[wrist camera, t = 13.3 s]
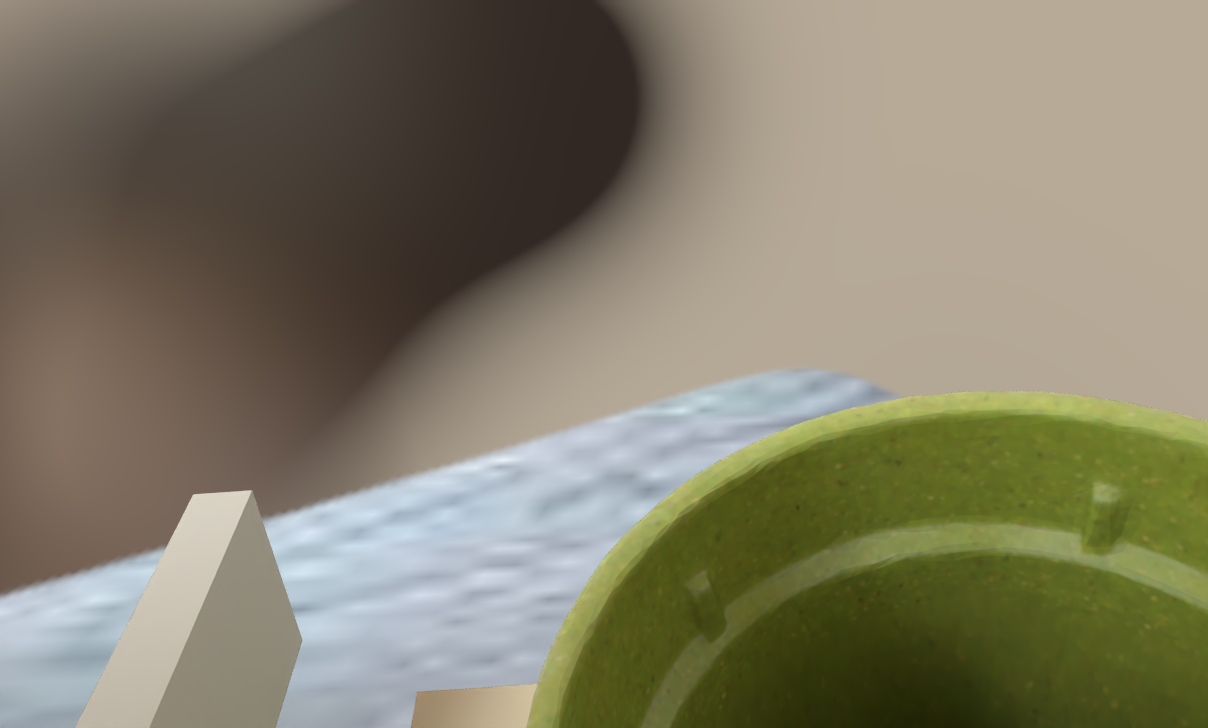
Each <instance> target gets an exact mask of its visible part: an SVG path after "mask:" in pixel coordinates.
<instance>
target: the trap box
mask: <svg viewBox="0 0 1208 728" xmlns="http://www.w3.org/2000/svg"><path fill="white" fill-rule="evenodd" d="M536 687H537V684H528V685H514V686H499V687H484V688H469V689H454V690H439V691H424V692H417V697H416V703H415V709H414V715H413V720H412V726H411V728H526V726H527V722H528V718H529V714H530V710H531V705H532V700H533V696H534V693H535V690H536Z"/></svg>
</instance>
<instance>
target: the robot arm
mask: <svg viewBox="0 0 1208 728" xmlns="http://www.w3.org/2000/svg"><path fill="white" fill-rule="evenodd" d="M301 643H302V638H301V635H300V632H299V629H298V626H297V623H296V620H295V617H294V614H293V611H292V608H291V605H290V602H289V599H288V596H287V593H286V590H285V587H284V584H283V581H282V578H281V575H280V572H279V569H278V566H277V563H276V560H275V557H274V554H273V551H272V548H271V545H270V542H269V539H268V536H267V533H266V530H265V527H264V524H263V522H262V519H261V516H260V513H259V510H258V507H257V504H256V501H255V498H254V495H253V492H252V490H251V491H236V492H222V493H209V494H195V495H193V496H192V498H191V500H190V502H189V504H188V506H187V508H186V510H185V512H184V514H183V516H182V518H181V520H180V522H179V524H178V526H177V528H176V530H175V532H174V534H173V536H172V538H171V540H170V542H169V544H168V546H167V547H166V549H165V551H164V553H163V555H162V557H161V559H160V561H159V563H158V565H157V567H156V569H155V571H154V573H153V575H152V577H151V579H150V581H149V583H148V585H147V587H146V589H145V591H144V593H143V595H142V597H141V599H140V601H139V603H138V605H137V607H136V609H135V610H134V612H133V614H132V616H131V618H130V620H129V622H128V624H127V626H126V628H125V630H124V632H123V634H122V636H121V638H120V640H119V642H118V644H117V646H116V648H115V650H114V652H113V654H112V656H111V658H110V660H109V662H108V664H107V666H106V668H105V670H104V672H103V674H102V675H101V677H100V679H99V681H98V683H97V685H96V687H95V689H94V691H93V693H92V695H91V697H90V699H89V701H88V703H87V705H86V707H85V709H84V711H83V713H82V715H81V717H80V719H79V721H78V723H77V725H76V727H75V728H275V727H276V724H277V721H278V718H279V714H280V711H281V708H282V705H283V701H284V698H285V695H286V692H287V688H288V685H289V682H290V679H291V675H292V672H293V669H294V665H295V662H296V659H297V656H298V652H299V649H300V646H301Z"/></svg>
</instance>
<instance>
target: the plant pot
mask: <svg viewBox="0 0 1208 728" xmlns="http://www.w3.org/2000/svg"><path fill="white" fill-rule="evenodd" d="M526 728H1208V421H1205V420H1202V419H1198V418H1194V417H1191V416H1186V415H1182V414H1178V413H1174V412H1169V411H1165V410H1161V409H1155V408H1149V407H1145V406H1141V405H1137V404H1133V403H1123V402H1119V401H1113V400H1106V399H1101V398H1097V397H1091V396H1083V395H1074V394H1061V393H1050V392H1036V391H1016V392H1015V391H1013V392H1004V391H1002V392H1001V391H988V392H987V391H980V392H979V391H978V392H976V391H975V392H957V393H949V394H941V395H924V396H912V397H905V398H901V399H896V400H891V401H886V402H881V403H876V404H872V405H868V406H861V407H854V408H850V409H846V410H842V411H839V412H836V413H833V414H828V415H824V416H822V417H819V418H815V419H811V420H808V421H805V422H802V423H800V424H797V425H795V426H792V427H790V428H787V429H784V430H781V431H779V432H777V433H774V434H772V435H770V436H768V437H766V438H763V439H761V440H759V441H757V442H755V443H753V444H751V445H749V446H747V447H745V448H743V449H741V450H739V451H737V452H735V453H733V454H731V455H729V456H727V457H725V458H724V459H722V460H720V461H718V462H717V463H715V464H714V465H712V466H710V467H709V468H707V469H706V470H704V471H702V472H700V473H698V474H697V475H695V476H694V477H693V478H691V479H690V480H689V481H687V482H686V483H685V484H683V485H682V486H680V487H679V488H678V489H676V490H675V491H674V492H672V493H671V494H670V495H669V496H668V497H666V498H665V499H664V500H663V501H661V502H660V503H658V504H657V506H656V507H655V508H654V509H652V510H651V511H650V512H649V513H648V514H647V515H646V516H645V517H644V518H643V519H642V520H640V521H639V522H638V523H637V524H636V525H635V526H634V527H632V528H631V529H630V530H629V531H628V532H627V533H626V534H625V535H624V536H623V538H622V539H621V540H620V541H619V542H618V543H617V544H616V545H615V546H614V547H613V548H612V549H611V551H610V552H609V553H608V554H607V555H606V556H605V558H604V559H603V561H602V562H601V563H600V565H599V566H598V568H597V569H596V570H595V572H594V573H593V575H592V576H591V577H590V579H589V581H588V582H587V584H586V586H585V587H584V589H583V591H582V592H581V594H580V596H579V598H578V599H577V601H576V603H575V604H574V606H573V607H572V609H571V611H570V612H569V614H568V615H567V617H566V619H565V621H564V623H563V624H562V626H561V628H560V630H559V632H558V634H557V635H556V638H555V641H554V643H553V645H552V646H551V649H550V651H549V654H548V656H547V658H546V661H545V663H544V665H543V668H542V670H541V673H540V676H539V680H538V684H537V687H536V690H535V693H534V696H533V700H532V705H531V710H530V714H529V718H528V722H527V726H526Z"/></svg>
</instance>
